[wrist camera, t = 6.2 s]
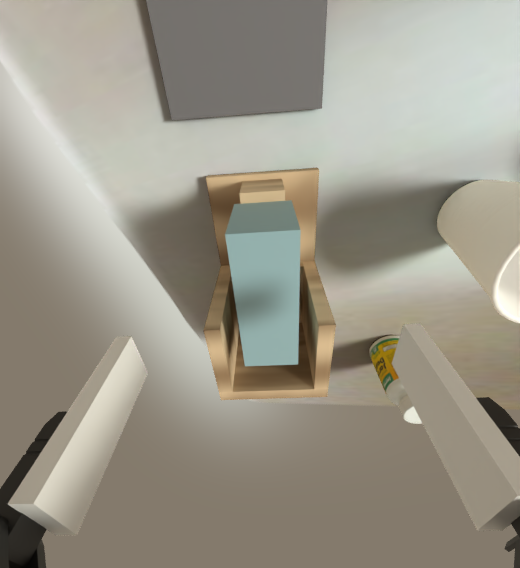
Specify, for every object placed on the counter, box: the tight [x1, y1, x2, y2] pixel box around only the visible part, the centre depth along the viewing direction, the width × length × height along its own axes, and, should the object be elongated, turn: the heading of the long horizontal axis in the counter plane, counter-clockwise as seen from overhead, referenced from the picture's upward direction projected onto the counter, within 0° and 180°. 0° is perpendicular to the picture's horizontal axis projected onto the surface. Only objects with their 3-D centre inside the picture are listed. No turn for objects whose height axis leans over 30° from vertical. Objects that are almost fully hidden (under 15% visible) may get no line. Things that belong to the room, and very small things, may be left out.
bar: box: [225, 200, 301, 366], centre depth 22 cm, size 12×4×6 cm, turn 4°
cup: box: [437, 180, 520, 323], centre depth 21 cm, size 10×10×11 cm
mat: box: [146, 0, 327, 120], centre depth 19 cm, size 10×12×1 cm
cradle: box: [204, 168, 336, 400], centre depth 25 cm, size 18×10×11 cm, turn 4°
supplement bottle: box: [369, 335, 422, 423], centre depth 33 cm, size 5×5×10 cm
